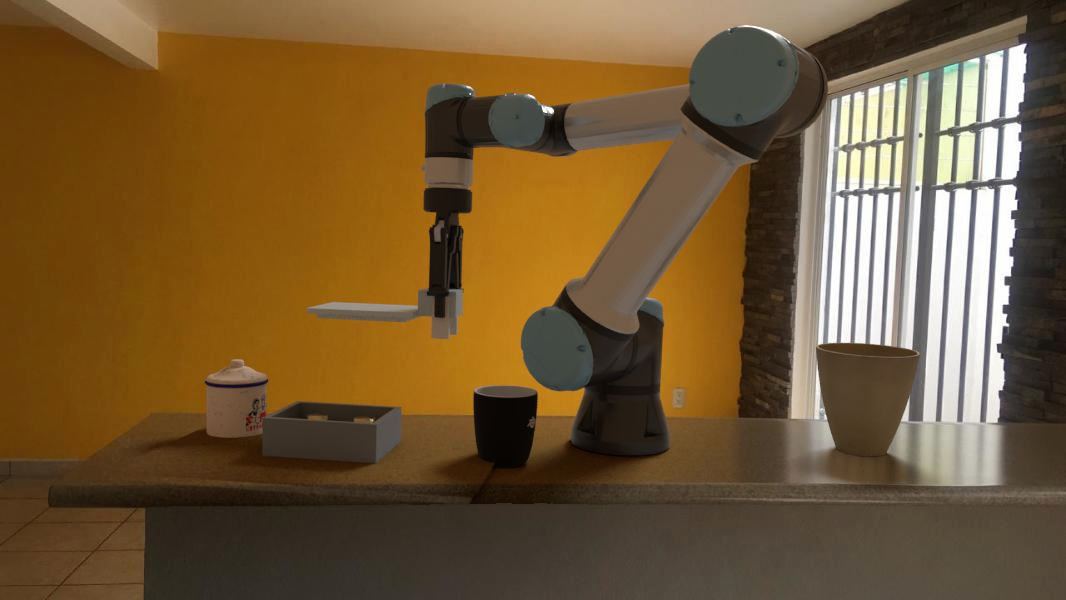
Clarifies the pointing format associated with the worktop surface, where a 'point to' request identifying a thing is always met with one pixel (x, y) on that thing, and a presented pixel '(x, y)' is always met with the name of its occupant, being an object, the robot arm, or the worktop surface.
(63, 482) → the worktop surface
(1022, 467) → the worktop surface
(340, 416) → the tub
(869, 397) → the plant pot
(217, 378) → the teacup with lid
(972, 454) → the worktop surface
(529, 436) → the mug
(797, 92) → the robot arm
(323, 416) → the part
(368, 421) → the part
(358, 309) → the lid
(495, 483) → the worktop surface
